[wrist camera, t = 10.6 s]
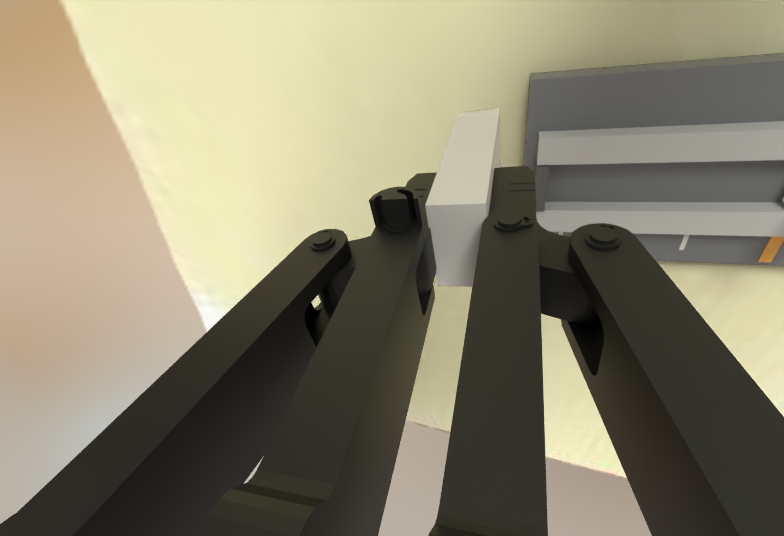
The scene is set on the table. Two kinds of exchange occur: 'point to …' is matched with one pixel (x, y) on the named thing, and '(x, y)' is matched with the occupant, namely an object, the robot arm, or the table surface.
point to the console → (665, 155)
